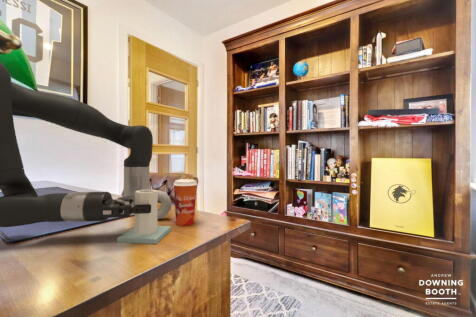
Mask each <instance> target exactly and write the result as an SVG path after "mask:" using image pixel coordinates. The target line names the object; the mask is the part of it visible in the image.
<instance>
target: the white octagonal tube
mask: <svg viewBox="0 0 476 317" xmlns="http://www.w3.org/2000/svg"><path fill="white" fill-rule="evenodd" d="M136 204H151V212H150V213H146V214H134V227H135V231H134V234H137V235H150V234H153V233H156V231H157V226H158V219H157V216H158V209H159V208H158V204H159V201H158V189H150V190H138V191H136V192H135V205H136Z"/></svg>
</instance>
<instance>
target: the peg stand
mask: <svg viewBox="0 0 476 317" xmlns="http://www.w3.org/2000/svg"><path fill="white" fill-rule="evenodd" d="M134 231H135V226H133V228H131V229H130V230H127V231H126V232H124V233H122V234H121V235H119V236H117V241H116V242H117V243H120V244H121V243H122V244H123V243H125V244H127V243H128V244H142V245H143V244H144V245H145V244H146V245H157V244H158V243H160V241H162V239H164V238H165V237H166V236H167V235H168V234H169V233H171V231H172V226H171V225H170V226H169V225H157V231H156V233H153V234H150V235H137V234H134Z"/></svg>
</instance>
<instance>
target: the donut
mask: <svg viewBox="0 0 476 317" xmlns="http://www.w3.org/2000/svg"><path fill="white" fill-rule="evenodd" d="M157 190H158V189H157ZM158 202H160V207H159V208H158V216H157V220H161V219H163V218H165V217H166V216H168V215H169V213H170V212H171V210H172V199H171V197H170V196H169V195H168V194H167V193H166V192H164V191H162V190H158Z"/></svg>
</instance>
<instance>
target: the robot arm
mask: <svg viewBox="0 0 476 317" xmlns="http://www.w3.org/2000/svg"><path fill="white" fill-rule="evenodd" d="M13 111H14V112H18V113H20V114H24V115H28V116H30V117H33V118H35V119H38V120H42V121H44V122H48V123H51V124H54V125H56V126H60V127H62V128H65V129H68V130H71V131H75V132H79V133H82V134H85V135H89V136H92V137H95V138H96V137H97V138H101V139H105V140H108V141H109V142H113V143H115V144H117V145H119V146H122V147H123V148H125V149H126V148H127V149H130V152H129V155H128V156H127V157H126V158H125V159H124V161H123V195H122V196H119V197H117V198H115V199H113V197H112V194H111V193H110V192H109V191H77V192H69V193H68V192H64V193H63V192H59V193H58V192H57V193H47V194H43V195H38V193H37V191H36V189H35V188H34V186H33V184H32V182H31V181H30V179H29V178H28V176H27V175H26V173H25V169H24V168H25V167H24V164H23V160H22V155H21V152H20V147H19V144H18V139H17V135H16V129H15V123H14V114H13ZM153 141H154V139H153V133H152V131H151V129H150V128H149V127H148V126H146V125H126V124H122V123H119V122H117V121H114V120H112V119H110V118H109V117H108V116H106V115H104V114H103V112H101V111H100V110H99V109H97V108H95V107H93V106H91V105H89V104H87V103H84V102H82V101H79V100H77V99H75V98H72V97H69V96H65V95H60V94H55V93H50V92H45V91H44V92H43V91H40V90H35V89H31V88H28V87H25V86H24V85H23V86H22V85H21V84H19V83H18V84H17V83H16V82H13V81H12V76H11V74H10V72H9V70H8V68H7V67H6V66H5V65H4V64H3V63H2V62H1V61H0V191H1V193H2V196H0V228H14V227H19V226H21V227H22V226H26V225H32V224H33V225H34V224H40V223H45V222H46V223H47V222H48V223H51V222H53V223H55V222H57V223H58V222H71V223H72V222H73V223H83V222H85V223H87V222H105V221H107V220H109V218H113V219H114V218H130V216H135V214H146V213H150V212H151V204H136V205H135V192H136V191H138V190H151V189H150V188H151V187H150V163H151V161H152V159H153V158H152V156H153V146H154V145H153V143H154V142H153Z"/></svg>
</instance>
